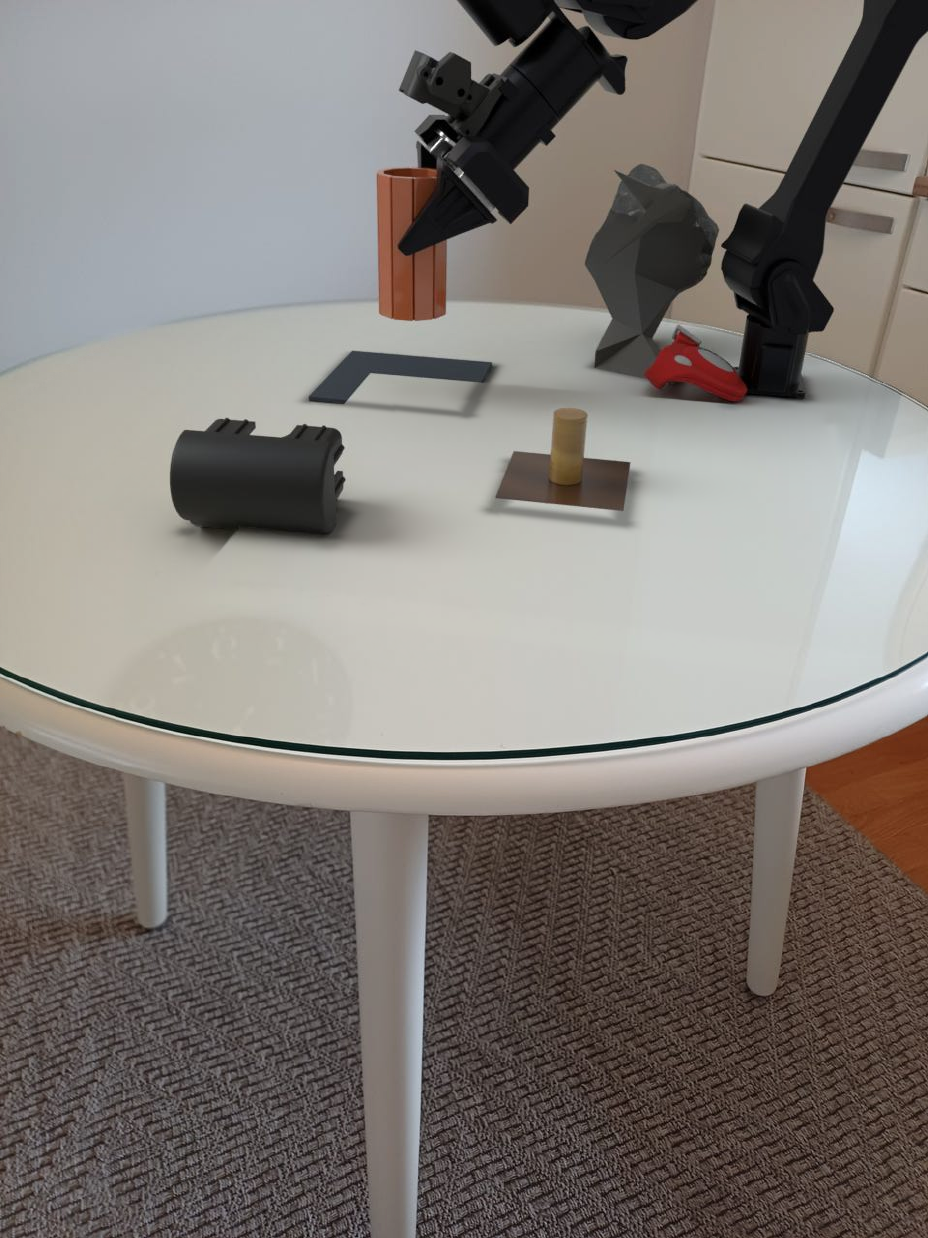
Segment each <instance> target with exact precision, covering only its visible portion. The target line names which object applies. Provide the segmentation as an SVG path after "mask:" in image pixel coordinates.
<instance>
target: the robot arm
mask: <svg viewBox="0 0 928 1238" xmlns="http://www.w3.org/2000/svg"><path fill="white" fill-rule="evenodd" d="M456 1H457V3H458V4H459V5H460V6H461V7H462V9H463V10H464V11H465V12H466V13H467V15H468V16H469V17H470V19H471V20H472V21H473V22H474V23H475V24H476V26H477V27H478V28H479V29H480V30H481V32H482V33H483V34H484V36H485V37H486V38H487V39H488V40H489V41H490V43H491V44H492V45H493V47H497V46H500V45H502V44H504V43H505V42H506V41H508V42H509V44H510V45H511V46H512V47H513V48H517V47H519V46H520V45H522V44H523V43H525V42H526V41H527V40H528V39H530V37H531V36H532V35H533V34H535V33H536V32H537V30H538V29H539V28H540V27H541V26H542V25H543V23H544V22H545V21H546V20H547V18H548V19H549V21H548V22H547V23H546V24H545V25H544V26H543V27H542V28H541V29H540V30H539V31H538V32H537V34H536V35H535V36H534V37H533V38H532V39H531V40H530V41H529V42H528V43H527V44H526V46H525V47H523V49H522V50H521V51H520V52H519V53H518V54H517V55H516V57H515V58H514V59H513V60H511V62H510V63H509V65H507V66H506V67H505V68H504V70H503V71H502V72H501V73H500V74H499V73H495V72H493V73H488V74H486V75H485V76H484V77H483V78H482V79H481V80H480V81H479V82H478V81H476V80H474V79H472V62H471V61H469V60H467V59H466V58H464V57H462V56H460V55H459V54H457V53H455V52H451V51H449V52H447V53H446V54H445V55H444V56H443V57H441V59H440V60H437V59H435V58H434V57H432V56H430V55H428V54H426V53H424V52H421V51H418V50H414V51H413V54H412V56H411V59H410V61H409V63H408V66H407V68H406V71H405V73H404V76H403V78H402V81H401V83H400V85H399V88H398V92H401V93H402V94H404V95H405V96H407V97H409V98H410V99H412V100H414V101H416V102H418V103H420V104H421V105H425V104H428V105H430V106H431V107H433V108H435V109H437V110H439V111H441V112H443V113H444V114H428V116H427V117H426V118H425V119H424V120H423V121H422V122H421V124H419V126H418V127H417V128H416V129H415V130H414V133H415V134H416V135H417V137H418V138H419V139H420V140H421V141H422V142H423V143H424V145H423V143H421V142H420V140H416V143H415V148H416V156H417V157H416V158H417V167H421V168H430V169H432V168H433V169H437V174H436V188H435V190H434V191H433V193H432V194H431V196H430V197H429V199H428V200H427V201H426V203H425V204H424V206H423V207H422V209H421V210H420V212H419V213H418V215H417V216H416V218H415V219H414V220H413V222H412V223H411V225H410V226H409V228H408V229H407V231H406V232H405V234H404V235H403V237H402V239H401V240H400V242H399V243H398V246H397V247H398V249H399V250H400V251H401V252H402V253H403V254H404V255H405V256H409V255H412V254H414V253H416V252H419V251H421V250H423V249H426V248H428V247H431V246H433V245H435V244H438V243H440V242H442V241H445V240H447V241H448V240H449V239H453V238H454V237H457V236H460V235H462V234H465V233H468V232H470V231H472V230H475V229H478V228H480V227H483V226H486V225H488V224H491V225H493V224H495V223H496V222H498V219H497V217H496V216H495V215H494V214H493V213H492V211H494V209H496V210H497V214H498V215H499V216H500V217H501V218H502V219H503V220H505V221H506V222H507V223H508V224H509V225H512V224H513V223H514V222H515V221H516V219H517V218H518V217H520V216H521V214H522V213H524V211H525V210H526V209H527V208H528V207H529V202H530V201H529V199H530V187H529V185H528V184H527V183H526V182H525V181H524V180H523V179H522V177H520V175H519V174H518V173H517V172H516V171H515V170H516V169H517V168H518V167H519V165H520V164H521V163H522V162H524V160H525V159H526V158H527V157H528V156H529V155H530V154H531V153H532V152H533V151H534V149H536V147H538V145H540V144H542V145H544V146H546V147H547V146H548V145H550V143H551V142H552V141H553V140H554V139H555V138H556V136H557V135H556V134H555V133H554V132H553V129H554V128H556V126H558V124H559V123H560V122H561V121H562V120H563V119H564V118H565V117H566V116H567V114H568V113H569V112H570V111H571V110H572V109H573V108H574V107H576V105H577V104H578V103H579V102H580V101H581V100H582V98H583V97H584V96H585V95H586V94H587V93H589V91H590V90H591V89H592V88H593V87H594V86H595V84H597V82H598V84H599V85H600V86H601V87H602V89H603V90H604V91H606V92H608V93H612V94H615V95H618V96H622V95H624V94H625V92H626V89H627V88H626V67H627V64H628V61H629V60H628V59H629V58H628V56H627V55H624V54H618V53H615V54H611V53H610V52H609V50H608V49H607V48H606V47H605V45H604V44H603V42H602V41H601V40H600V39H599V37H598V36H597V35H596V34H595V32H597V33H599V34H600V35H603V36H607V37H612V38H617V39H618V38H619V39H623V40H629V41H630V40H631V41H638V40H641V39H646V38H649V37H651V36H653V35H654V34H655V33H657V32H659V31H660V30H661V29H663V28H664V27H666V26H667V25H669V24H670V23H672V22H673V21H675V20H676V19H677V18H679V17H680V16H683V14H685V13H686V12H687V11H688V10H690V9H691V8H692V7H693V6H694V5H695V4H697V2H698V1H699V0H456ZM562 9H563V10H566V11H570V12H575V13H578V14H581V15H583V17H584V20H585V22H586V23H587V24H588V25H584V26H581V27H579V28H577V27H576V26H575V25H574V24H573V23H572V21H570V19H569V18H568V17H567V15H566V14H565V13H564V11H563V10H562ZM594 31H595V32H594ZM927 33H928V0H863V8H862V17H861V20H860V23H859V25H858V28H857V29H856V32H855V34H854V35H853V38H852V40H851V42H850V44H849V46H848V48H847V50H846V52H845V54H844V56H843V58H842V60H841V62H840V63H839V66H838V68H837V69H836V71H835V73H834V75H833V78H832V80H831V82H830V83H829V86H828V88H827V89H826V92H825V93H824V95H823V98H822V100H821V102H820V103H819V105H818V107H817V109H816V112H815V113H814V116H813V118H812V120H810V121H811V122H810V123H809V126H808V128H807V129H806V131H805V133H804V136H803V138H802V139H801V141H800V144H799V145H798V147H797V150H796V151H795V153H794V155H793V158H792V160H791V161H790V163H789V165H788V167H787V169H786V171H785V173H784V175H783V177H782V180H781V182H780V184H779V185H778V187H777V189H776V190H775V192H774V193H773V195H771V196H770V197H769V198H768V199H767V200H766V201H765V202H764V203H763V204H761V205H760V206H759V207H756V206H754V205H751V204H750V203H744V204H743V205H742V207H741V208H740V210H739V212H738V214H737V218H736V221H735V223H734V226H733V228H732V231H731V232H730V234H729V236H728V237H727V238H726V239H725V240H724V241H723V242H722V243H721V244H720V247H721V248H722V249H724V250H725V251H724V253H723V256H722V260H721V264H720V265H721V267H720V270H721V272H722V276H723V280H724V283H725V284H726V285H727V287H728V288H729V290H731V291H733V297H734V303H735V307H736V309H738V310H742V311H743V312H745V313H746V314H747V315H746V319H745V325H744V331H743V339H742V343H741V350H740V356H739V363H738V366H732V367H733V368H734V369H735V371H736V372H737V374H738V376H739V377H740V378H741V379H742V380H743V382H744V383H745V385H746V386H747V392H746V394H753V395H754V394H755V395H764V396H766V395H767V396H777V397H788V398H789V397H790V398H801V399H802V398H805V397H806V395H807V390H806V386H805V382H804V378H803V373H802V372H803V367H804V362H805V355H806V352H807V351H806V350H807V347H808V346H807V345H808V340H809V336H810V333H821V332H824V331H825V329H826V327H827V326H828V324H829V321H830V320H831V318H832V316H833V314H834V312H835V307H834V306H833V305H832V304H831V302H830V301H829V300H828V299H827V297H826V296H825V294H824V293H823V291H822V290H821V289H820V287H819V286H818V285H817V284H816V282H815V281H814V280H815V276H816V274H817V271H818V268H819V266H820V263H821V260H822V257H823V255H824V248H825V236H826V226H827V217H828V214H829V212H830V210H831V207H832V206H833V204H834V201H835V200H836V199H837V196H838V194H839V192H840V190H841V189H842V187H843V184H844V182H845V181H846V180H847V179H846V178H847V177H848V175H849V173H850V171H851V169H852V167H853V166H854V164H855V162H856V159H857V158H858V156H859V154H860V152H861V150H862V148H863V147H864V145H865V142H866V141H867V139H868V137H869V135H870V133H871V131H872V130H873V127H874V125H875V124H876V122H877V120H878V118H879V116H880V114H881V112H882V110H883V108H884V106H885V105H886V102H887V101H888V99H889V98H890V95H891V93H892V91H893V90H894V87H895V86H896V83H897V82H898V80H899V78H900V76H901V74H902V72H903V70H904V68H905V67H906V65H907V63H908V61H909V59H910V57H911V55H912V53H913V51H914V49H915V48H916V46H917V44H918V43H919V42H920V40H921V39H922V38H923V37H925V35H926V34H927ZM445 114H447V115H445Z"/></svg>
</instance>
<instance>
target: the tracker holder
mask: <svg viewBox="0 0 928 1238" xmlns="http://www.w3.org/2000/svg"><path fill="white" fill-rule="evenodd" d="M671 339H672V340H673V342H672V343H671V344H668V345H666V346H664V347H663V348H662V349H661V351H660V353H659V354H658V356H657V358H656V360H655V362H654V364H653V365H652V366H651V367H649V368H648V369H647V370H646V371H645V374H644V376H645V377H646V378H647V379H646V380H647V381H648V382H649V383H650V384H651V385H652V386H653V387H654V388H655V389H656V390H661V389H663V388H664V387H665V386H666V385H667V384H669V383H668V382H669V381H676V382H682V383H688V384H691V385H694V386H695V387H698V388H700V389H702V390H704V391H706V392H708V393H709V394H712V395H715V396H717V397H719V398H722V399H724V400H727V401H730V402H742V401H743V400H744V398H745V395H746V394H747V393H746V392H747V386H746V385H745V383H744V382H743V380H742V379H741V378H740V377H739V376H738V374H737V372H736V371H735V369H734V368H733V367H734V366H732V365H731V363H729V362H728V361H727V360H726V359H724V358H723V357H722V356H720V355H719V354H716V353H715V352H713V351H711V350H709V349H707V348H703V347H700V346H701V344H702V342H703V340H701V339H700V338H699V337H697V336H696V335H694V334H693V333H692V332H690V331H689V330H687V329H686V328H685V327H683V326H682V325H680V324H677V325H676V326H675V328H674V330H673V333H672V335H671Z"/></svg>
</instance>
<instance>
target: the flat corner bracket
mask: <svg viewBox="0 0 928 1238" xmlns="http://www.w3.org/2000/svg"><path fill="white" fill-rule="evenodd" d="M492 367H493V362H492V361H481V360H469V359H459V358H446V357H434V356H421V355H409V354H398V353H385V352H375V351H373V352H372V351H362V350H351V351H350V352H349V354H347V355H346V356H345V357H344V358H343V360H342V361H340V363H339V364H338V365H337V366H336V367H335V368H334V369H333V370H332V371H331V372H330V373H329V374H328V375H327V376H326V377H325V379H323V381H322V382H321V383H320V384H319V385H318V386H317V387H316V388H315V389H314V390H313V391H312V392H311V393H310V394H309V396H308V401H310V402H320V403H332V404H343V405H344V404H346V403H347V402H348V400H349V399H350V398H351V397H352V396H353V394H355V392H356V391H357V390H358V389H359V387H360V386H361V385H362V384H363V383H364V382H365V381H366V379H367V378H368V377H369V376H370V375H371V374H374V375H375V374H377V375H388V376H398V377H399V376H400V377H412V378H424V379H433V380H434V379H435V380H445V381H446V380H447V381H456V382H457V381H458V382H469V383H479V384H480V383H482V384H484V383H485V380H486V378H487V377H488V375H489V373H490V372H491V369H492Z"/></svg>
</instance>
